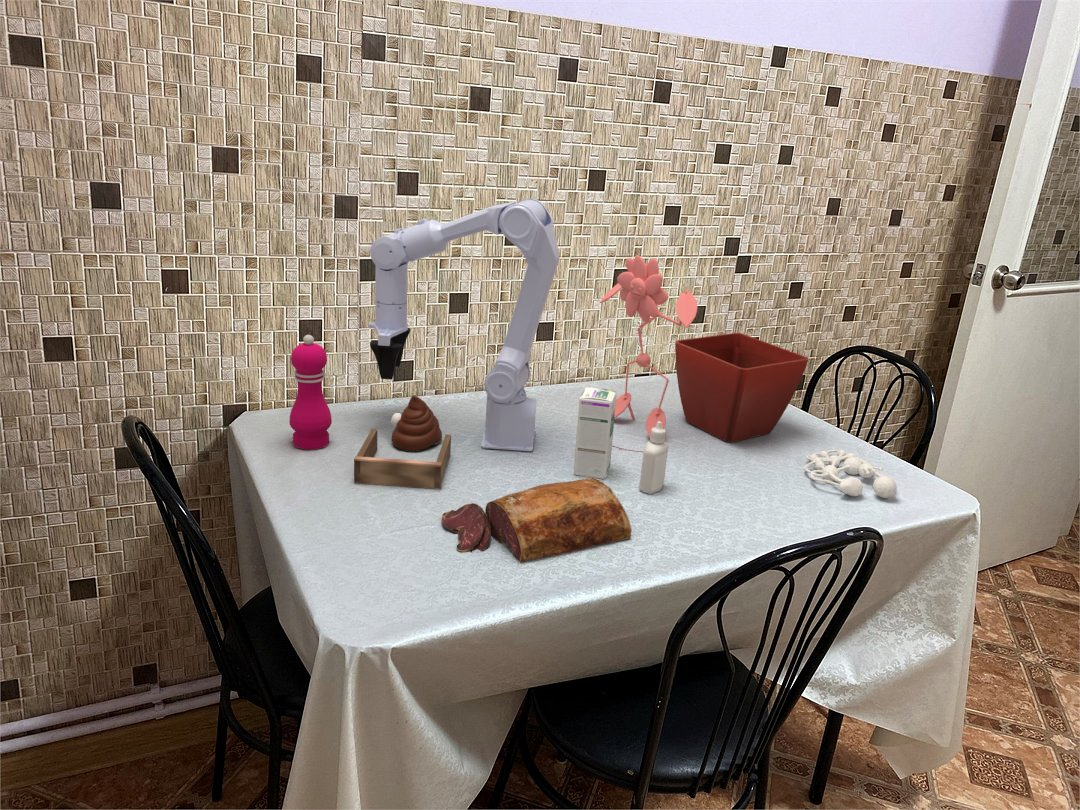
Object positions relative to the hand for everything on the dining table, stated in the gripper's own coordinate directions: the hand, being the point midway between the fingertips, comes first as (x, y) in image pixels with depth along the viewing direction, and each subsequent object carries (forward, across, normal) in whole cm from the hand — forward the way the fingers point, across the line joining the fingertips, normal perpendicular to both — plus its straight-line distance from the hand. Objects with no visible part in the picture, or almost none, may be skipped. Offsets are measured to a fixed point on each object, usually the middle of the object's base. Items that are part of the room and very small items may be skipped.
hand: (390, 372), depth 158 cm
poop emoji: (+11, +8, +6) cm, 15 cm away
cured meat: (+11, +38, +28) cm, 48 cm away
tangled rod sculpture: (+11, +11, +83) cm, 85 cm away
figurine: (+11, -4, +45) cm, 47 cm away
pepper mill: (+11, +12, -12) cm, 20 cm away
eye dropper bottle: (+11, +20, +48) cm, 53 cm away
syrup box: (+11, +15, +38) cm, 42 cm away
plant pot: (+11, -11, +67) cm, 69 cm away
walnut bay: (+10, +19, +6) cm, 23 cm away
